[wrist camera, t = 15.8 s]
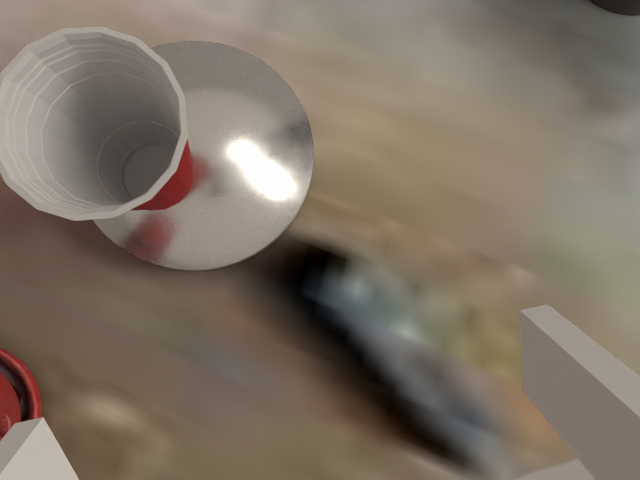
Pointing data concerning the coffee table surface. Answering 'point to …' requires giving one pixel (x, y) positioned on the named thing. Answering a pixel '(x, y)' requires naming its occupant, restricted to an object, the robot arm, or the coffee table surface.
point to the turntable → (226, 164)
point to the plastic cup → (93, 126)
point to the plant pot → (17, 393)
